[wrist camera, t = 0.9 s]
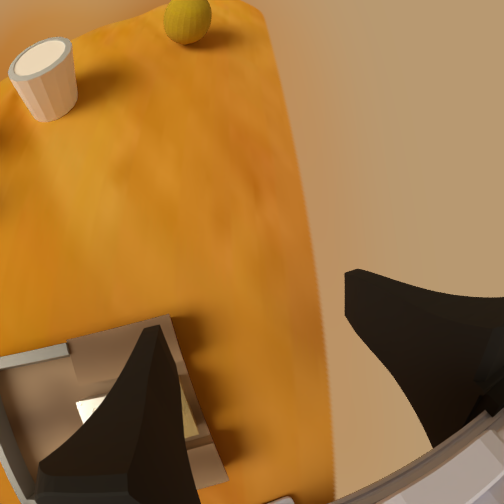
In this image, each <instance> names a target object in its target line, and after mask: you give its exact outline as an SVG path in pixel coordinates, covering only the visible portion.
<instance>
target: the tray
mask: <svg viewBox="0 0 504 504" xmlns="http://www.w3.org/2000/svg"><path fill="white" fill-rule="evenodd" d="M66 357H70V352H69V348H68V344H67V343H62V344H58V345H54V346H49V347H45V348H41V349H36V350H32V351H27V352H22V353H18V354H13V355H8V356H3V357H0V371H2V370H7V369H12V368H17V367H23V366H28V365H33V364H38V363H42V362H47V361H52V360H56V359H61V358H66ZM0 461H1V464H2V466H3V468H4V470H5V472H6V475H7V477H8V479H9V481H10V483H11V485H12V487H13V489H14V491H15V493H16V495H17V497H18V498H19V500H20V502H21V504H37V503H36V502H35V500H34V493H35V483H34V481H33V479H32V477H31V475H30V472H29V470H28V468H27V466H26V464H25V461H24V459H23V457H22V455H21V452H20V450H19V447H18V445H17V442H16V440H15V437H14V434H13V432H12V429H11V426H10V423H9V421H8V418H7V415H6V412H5V409H4V405H3V402H2V399H1V395H0Z"/></svg>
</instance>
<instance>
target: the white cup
mask: <svg viewBox="0 0 504 504" xmlns="http://www.w3.org/2000/svg"><path fill="white" fill-rule="evenodd" d="M8 75H9V78H10V80H11V82H12V83H13V85H14V87H15V88H16V90H17V92H18V93H19V95H20V96H21V98H22V100H23V101H24V103H25V104H26V106H27V108H28V109H29V111H30V112H31V114H32V115H33V117H34V118H35V119H36V120H38V121H40V122H50V121H53V120H56V119H59V118H60V117H62V116H63V115H65V114H67V113H68V112H69V111H70V110H71V109H72V108H73V107H74V105H75V103H76V101H77V99H78V90H77V83H76V76H75V68H74V60H73V50H72V43H71V42H70V41H69V39H67V38H63V37H53V38H48V39H45V40H42V41H39V42H37V43H35V44H33V45H32V46H30V47H28V48H26V49H25V50H24V51H23V52H22V53H21V54H19V55H18V56H17V57H16V59H15V60H14V61H13V62H12V64H11V65H10V68H9V71H8Z"/></svg>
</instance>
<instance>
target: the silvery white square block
mask: <svg viewBox="0 0 504 504" xmlns="http://www.w3.org/2000/svg"><path fill="white" fill-rule="evenodd" d="M107 394H108V393H104V394H100V395H95V396H90V397H86V398H84V399H81V400H79V401H77V402H76V405H77V408H78V411H79V414H80V416H81V419H82V422H83V424H84V423H85V422H86V420H87V419H88V418H89V417H90V416H91V415H92V414H93V412H94V411H95V410H96V409H97V408H98V406H99V405H100V404H101V403H102V401H103V400H104V398H105V397H106V396H107Z"/></svg>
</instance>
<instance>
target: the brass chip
mask: <svg viewBox="0 0 504 504" xmlns="http://www.w3.org/2000/svg"><path fill="white" fill-rule="evenodd" d="M178 377H179V382H180V387H181V400H182V413H183V425H184V437H185V438H187V437H191V436H194V435H198V434H199V430H198V425H197V423H196V420H195V418H194V415H193V412H192V410H191V407H190V404H189V401H188V399H187V396H186V393H185V390H184V387H183V385H182V382H181V379H180V376H179V375H178Z"/></svg>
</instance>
